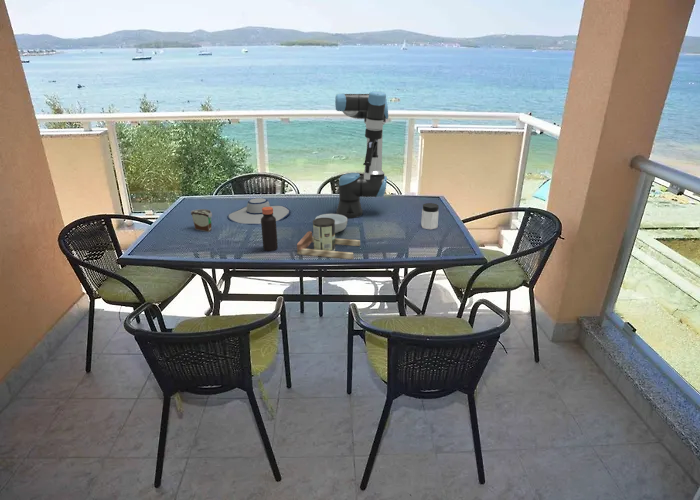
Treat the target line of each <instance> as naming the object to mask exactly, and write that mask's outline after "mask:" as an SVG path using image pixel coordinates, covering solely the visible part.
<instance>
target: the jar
mask: <svg viewBox="0 0 700 500" xmlns="http://www.w3.org/2000/svg"><path fill="white" fill-rule="evenodd" d="M438 222H439V205H438V204H437V203H433V202H427V203H426V202H425V203H423V204H422V209H421V224H420V225H421V227H422V229H425V230H426V229H427V230H435V229H438V226H439V224H438Z"/></svg>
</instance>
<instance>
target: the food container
mask: <svg viewBox="0 0 700 500" xmlns="http://www.w3.org/2000/svg"><path fill="white" fill-rule="evenodd" d="M190 215H191V218H192V221H193V226H194V229H195V230H197V231H203V232H206V233H209V232H211V231H212V217H213V213H212V211H211V210H210V209H207V208H206V209H205V208H202V209H201V208H199V209H193V210H190Z"/></svg>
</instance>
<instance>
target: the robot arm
mask: <svg viewBox="0 0 700 500" xmlns="http://www.w3.org/2000/svg"><path fill="white" fill-rule="evenodd" d="M334 99H335V100H334V101H335V103H334V104H335V106H334V107H335V110H336V112H342V113H343V114H344V115H345V116H347V117H349V118H353V119H359V120H363V122H364V124H365V131H364V133H365V134H364V137H365V138H366V152H365V159H364V162H363V166H364V172H363V175H360V173H359V172H350V173H345V174H342V175H341V176H340V177H339V179H338V182H339V183H338V186H339V188H338V189H339V190H338V193H339V194H338V195H339V196H338V197H339V199H338V204H337V209H336V213H335V214H339V215H343V216H345V217H347V219H354V218H358V217H361V216H363V213H364V210H363V208H362V204H361V200H360V198H382V197H384V195H385V192H386V189H387V180H388V177H387V176H386V175H385V172H384V171H383V168H382V167H383V136H384V135H383V129H384V128H383V127H384V125H385V124H386V121H387V120H388V119H389V107H388V100H387V94H386V93H385V92H382V91H370V92H369V93H338V94H336V95H335V98H334Z"/></svg>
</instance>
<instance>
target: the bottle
mask: <svg viewBox="0 0 700 500" xmlns="http://www.w3.org/2000/svg"><path fill="white" fill-rule="evenodd" d="M262 213H263V217H262V218H261V224H260V225H261V235H262V236H261V238H262V248H263V250H264V251H265V252H266V251H267V252H273V251H276V250H278V248H279V247H278V243H279V242H278V232H277V221H276V218H275V217H274V216H273V208H272V207H264V208H262Z"/></svg>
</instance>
